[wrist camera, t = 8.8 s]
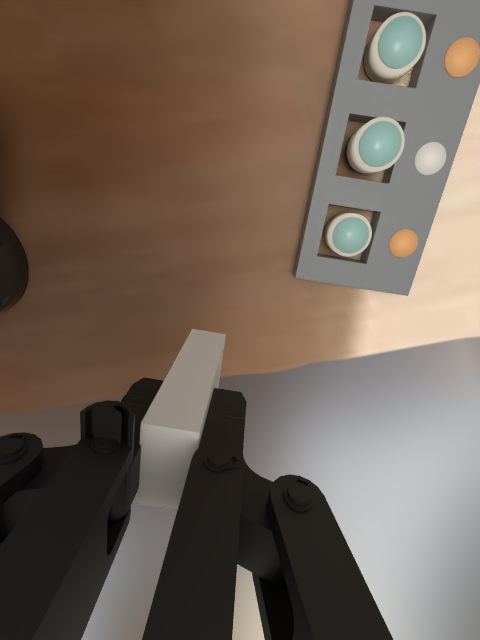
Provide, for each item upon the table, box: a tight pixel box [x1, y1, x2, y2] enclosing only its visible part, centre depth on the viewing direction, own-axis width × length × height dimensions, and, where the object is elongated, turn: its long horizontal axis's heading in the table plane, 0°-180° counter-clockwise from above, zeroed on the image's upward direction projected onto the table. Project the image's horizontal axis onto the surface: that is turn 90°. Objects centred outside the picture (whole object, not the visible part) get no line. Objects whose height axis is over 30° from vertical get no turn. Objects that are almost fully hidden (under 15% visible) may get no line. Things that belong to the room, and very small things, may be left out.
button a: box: [324, 213, 372, 257], centre depth 39 cm, size 5×5×4 cm
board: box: [294, 0, 480, 296], centre depth 36 cm, size 14×30×3 cm, turn 172°
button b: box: [347, 117, 405, 174], centre depth 34 cm, size 5×5×4 cm
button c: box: [364, 12, 426, 84], centre depth 33 cm, size 5×5×4 cm
